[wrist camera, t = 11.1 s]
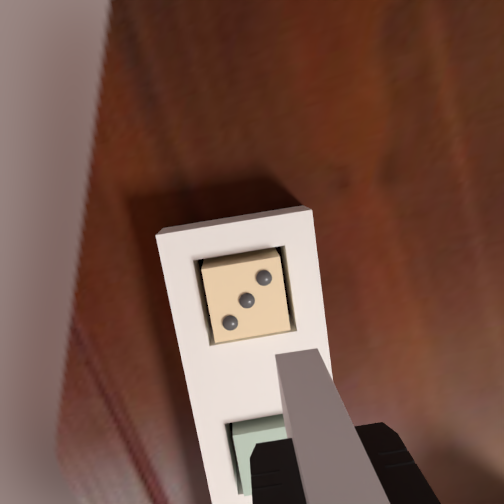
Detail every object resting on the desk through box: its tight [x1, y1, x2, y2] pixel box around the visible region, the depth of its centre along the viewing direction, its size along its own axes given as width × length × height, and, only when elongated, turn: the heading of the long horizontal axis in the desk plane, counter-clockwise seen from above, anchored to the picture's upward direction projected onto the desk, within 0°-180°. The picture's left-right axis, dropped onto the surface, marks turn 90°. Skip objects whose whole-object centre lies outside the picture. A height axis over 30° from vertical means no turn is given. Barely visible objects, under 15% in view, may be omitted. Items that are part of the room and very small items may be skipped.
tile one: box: [232, 414, 287, 496], centre depth 30 cm, size 5×5×4 cm
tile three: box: [201, 247, 291, 343], centre depth 27 cm, size 5×5×4 cm
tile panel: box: [155, 205, 333, 504], centre depth 30 cm, size 34×10×3 cm, turn 9°
